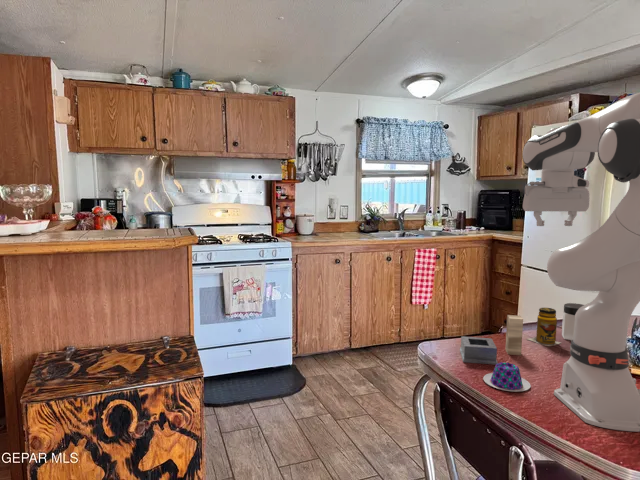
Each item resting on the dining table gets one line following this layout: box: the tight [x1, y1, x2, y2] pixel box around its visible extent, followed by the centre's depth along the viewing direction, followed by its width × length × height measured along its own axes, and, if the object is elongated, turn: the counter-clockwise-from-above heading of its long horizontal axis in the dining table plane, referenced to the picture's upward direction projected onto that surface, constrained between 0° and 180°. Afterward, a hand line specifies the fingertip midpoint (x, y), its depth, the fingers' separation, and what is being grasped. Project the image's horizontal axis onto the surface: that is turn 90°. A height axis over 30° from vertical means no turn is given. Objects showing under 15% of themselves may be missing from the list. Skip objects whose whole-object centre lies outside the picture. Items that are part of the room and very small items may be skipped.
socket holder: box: [459, 336, 498, 366], centre depth 137 cm, size 10×10×5 cm
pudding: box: [482, 362, 532, 392], centre depth 118 cm, size 12×12×5 cm
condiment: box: [526, 307, 561, 347], centre depth 151 cm, size 7×8×12 cm
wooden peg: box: [505, 314, 524, 356], centre depth 141 cm, size 4×4×12 cm
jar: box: [561, 302, 585, 342], centre depth 155 cm, size 9×8×12 cm
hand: (554, 226), depth 135 cm, fingers open, 8 cm apart
